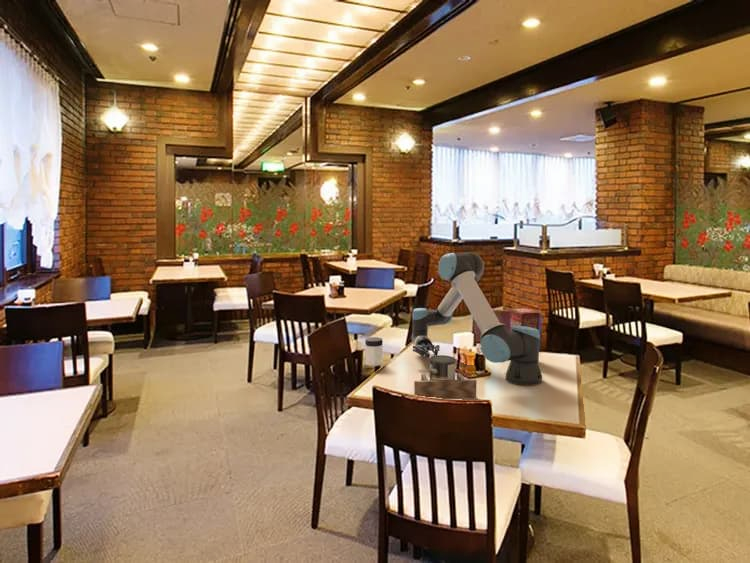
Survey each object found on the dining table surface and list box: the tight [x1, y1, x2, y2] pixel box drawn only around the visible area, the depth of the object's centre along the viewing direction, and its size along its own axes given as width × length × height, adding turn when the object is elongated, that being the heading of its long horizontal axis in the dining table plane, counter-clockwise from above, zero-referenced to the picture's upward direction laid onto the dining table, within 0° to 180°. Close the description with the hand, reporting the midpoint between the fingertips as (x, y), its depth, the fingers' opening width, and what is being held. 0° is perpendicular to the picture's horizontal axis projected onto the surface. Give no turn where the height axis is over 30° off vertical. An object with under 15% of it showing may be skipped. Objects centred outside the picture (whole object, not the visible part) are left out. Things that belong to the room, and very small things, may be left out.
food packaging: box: [509, 307, 540, 332], centre depth 253 cm, size 13×9×25 cm
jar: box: [364, 336, 384, 367], centre depth 251 cm, size 9×8×12 cm
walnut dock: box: [413, 372, 478, 399], centre depth 209 cm, size 24×10×7 cm, turn 94°
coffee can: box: [429, 354, 457, 380], centre depth 210 cm, size 10×10×14 cm
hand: (432, 357), depth 231 cm, fingers closed
